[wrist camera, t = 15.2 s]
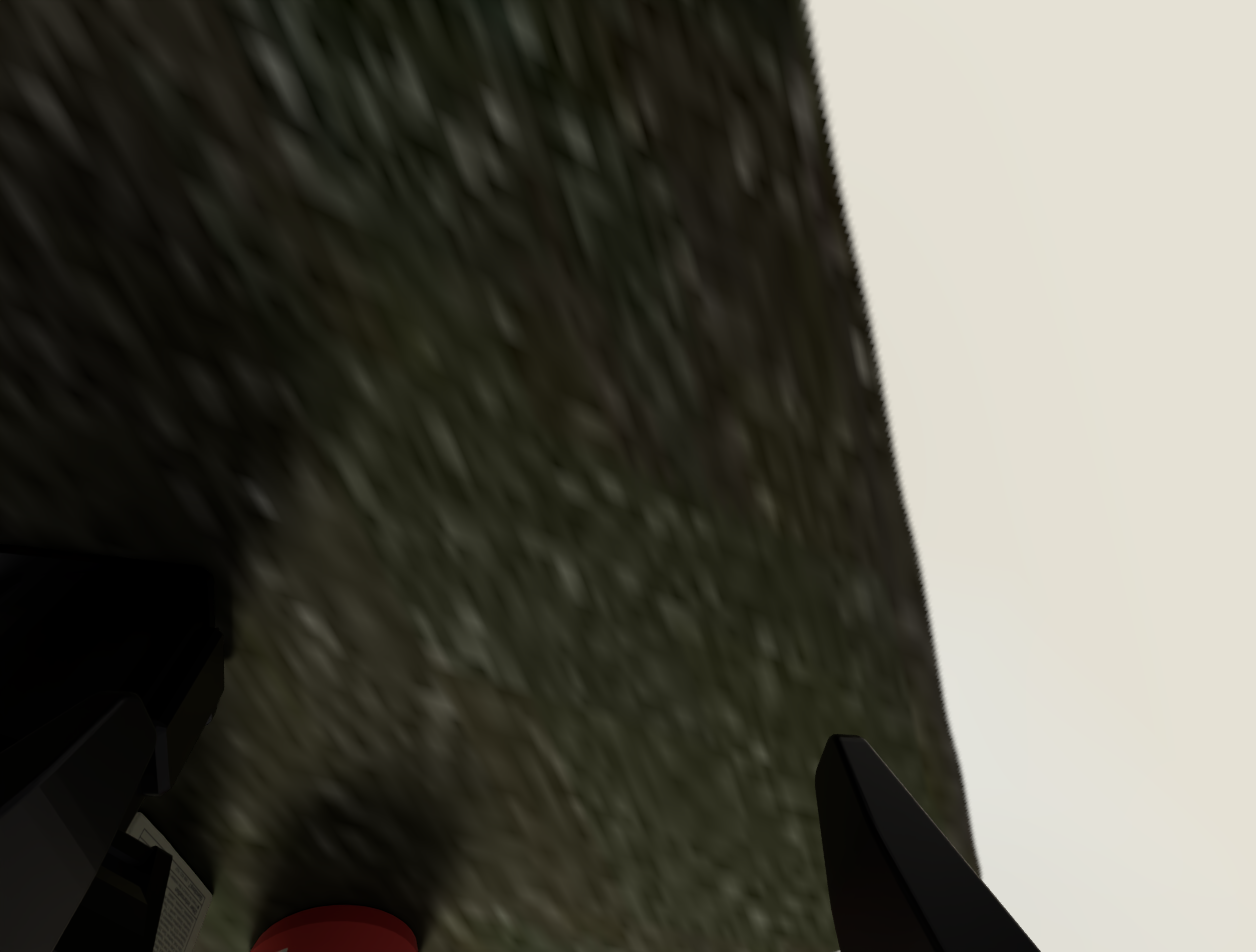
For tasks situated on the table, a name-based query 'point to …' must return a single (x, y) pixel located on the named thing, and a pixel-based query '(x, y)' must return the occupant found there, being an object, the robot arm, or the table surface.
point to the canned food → (338, 932)
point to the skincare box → (175, 894)
